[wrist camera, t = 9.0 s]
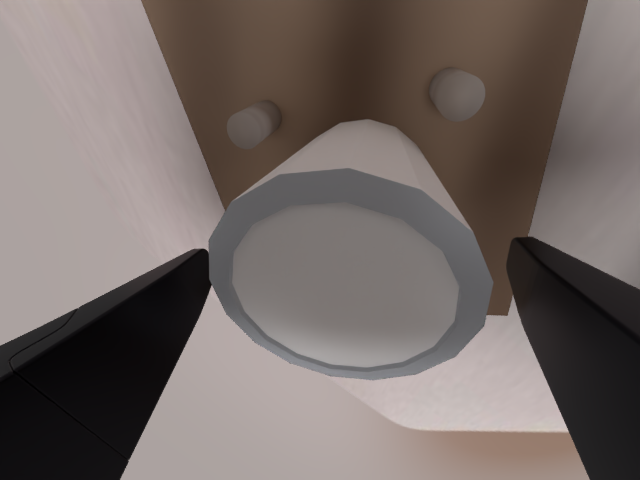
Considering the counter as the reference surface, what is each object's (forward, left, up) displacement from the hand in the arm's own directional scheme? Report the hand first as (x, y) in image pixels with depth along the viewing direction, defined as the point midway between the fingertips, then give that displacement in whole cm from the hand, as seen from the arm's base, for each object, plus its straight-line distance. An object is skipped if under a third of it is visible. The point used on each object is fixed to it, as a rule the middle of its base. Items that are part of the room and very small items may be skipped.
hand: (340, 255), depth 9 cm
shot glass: (0, 0, -5) cm, 5 cm away
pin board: (0, 0, -6) cm, 6 cm away
